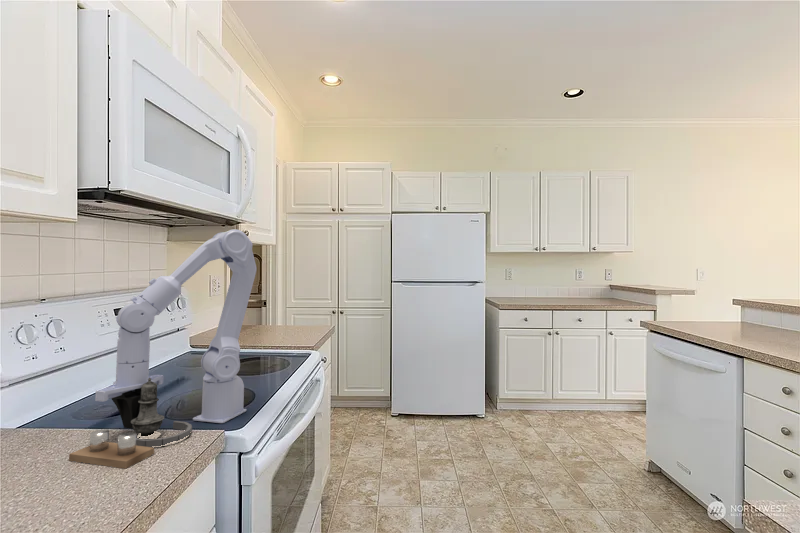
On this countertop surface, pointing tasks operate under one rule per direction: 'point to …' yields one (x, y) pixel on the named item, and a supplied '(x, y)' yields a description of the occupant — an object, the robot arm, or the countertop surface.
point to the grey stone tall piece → (148, 411)
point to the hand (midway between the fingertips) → (130, 427)
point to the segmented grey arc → (163, 441)
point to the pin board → (112, 450)
